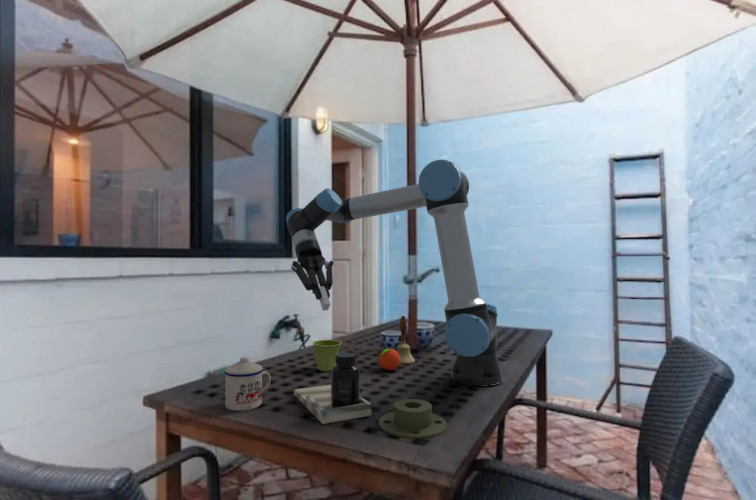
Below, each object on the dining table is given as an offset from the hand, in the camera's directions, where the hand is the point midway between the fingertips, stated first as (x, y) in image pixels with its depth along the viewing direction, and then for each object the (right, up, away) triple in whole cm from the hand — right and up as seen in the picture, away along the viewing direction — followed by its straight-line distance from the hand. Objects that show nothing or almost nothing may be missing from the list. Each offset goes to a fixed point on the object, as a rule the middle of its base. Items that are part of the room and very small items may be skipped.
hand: (326, 307), depth 118 cm
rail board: (+2, -23, -10) cm, 25 cm away
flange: (+22, -24, -22) cm, 39 cm away
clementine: (+17, -24, +23) cm, 38 cm away
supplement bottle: (+6, -22, -15) cm, 27 cm away
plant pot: (-3, -24, +24) cm, 34 cm away
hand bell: (+23, -24, +36) cm, 49 cm away
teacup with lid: (-18, -23, -10) cm, 31 cm away
